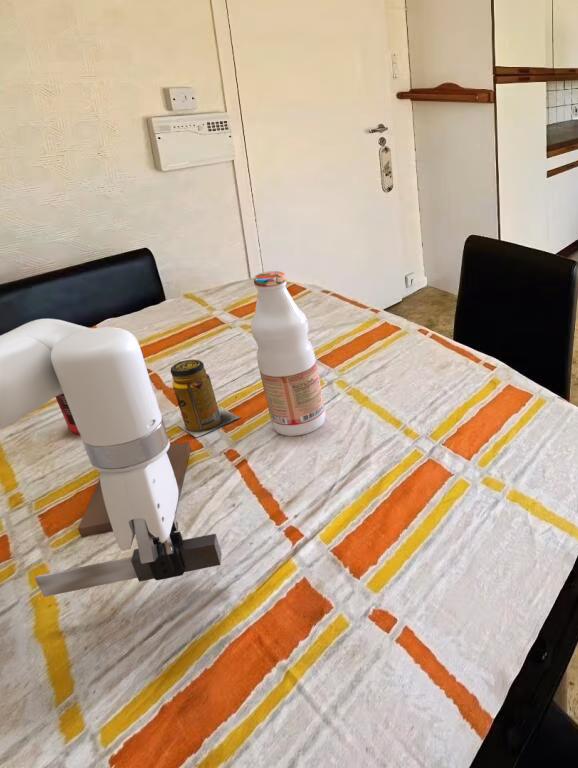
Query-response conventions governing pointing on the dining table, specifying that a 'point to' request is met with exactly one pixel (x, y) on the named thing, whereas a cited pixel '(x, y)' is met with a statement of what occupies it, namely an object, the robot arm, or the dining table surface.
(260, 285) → the fruit juice
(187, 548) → the knife
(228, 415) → the condiment
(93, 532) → the board
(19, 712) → the dining table surface
